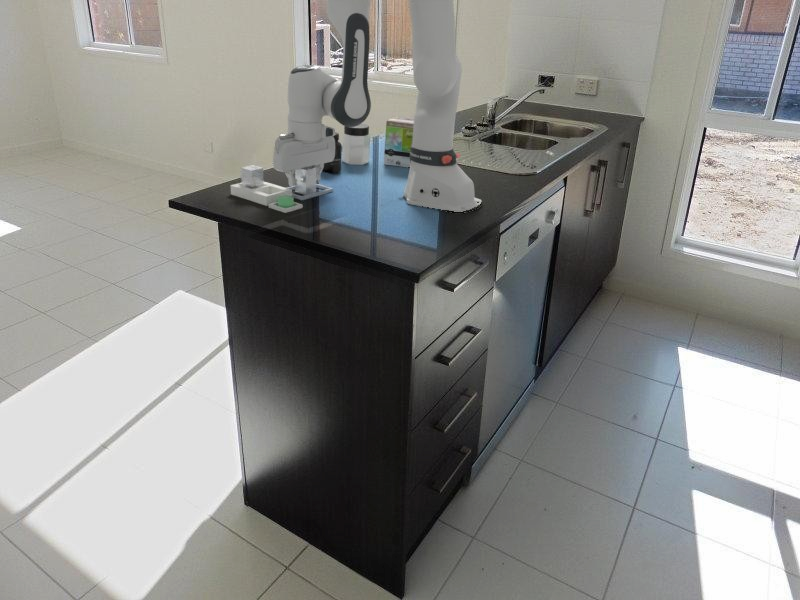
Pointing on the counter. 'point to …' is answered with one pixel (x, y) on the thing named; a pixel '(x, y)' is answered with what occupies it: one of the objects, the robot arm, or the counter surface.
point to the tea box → (398, 141)
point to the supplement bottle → (335, 165)
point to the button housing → (285, 210)
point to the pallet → (261, 193)
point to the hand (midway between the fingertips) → (304, 182)
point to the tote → (325, 190)
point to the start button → (285, 201)
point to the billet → (305, 180)
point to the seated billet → (252, 177)
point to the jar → (356, 145)
